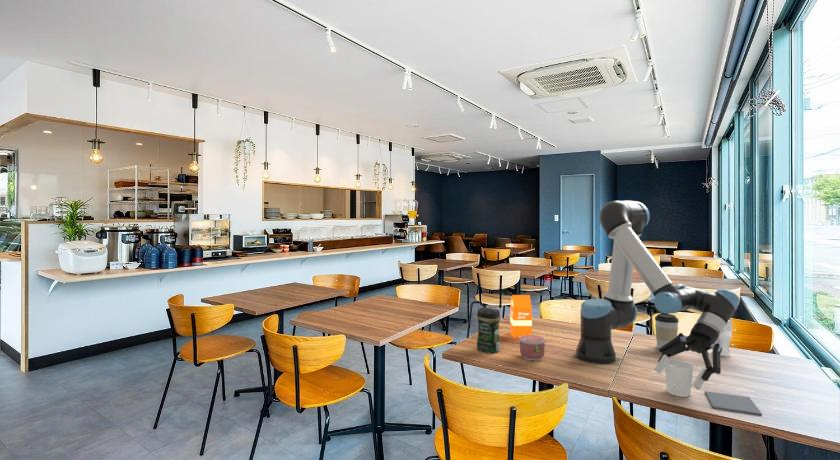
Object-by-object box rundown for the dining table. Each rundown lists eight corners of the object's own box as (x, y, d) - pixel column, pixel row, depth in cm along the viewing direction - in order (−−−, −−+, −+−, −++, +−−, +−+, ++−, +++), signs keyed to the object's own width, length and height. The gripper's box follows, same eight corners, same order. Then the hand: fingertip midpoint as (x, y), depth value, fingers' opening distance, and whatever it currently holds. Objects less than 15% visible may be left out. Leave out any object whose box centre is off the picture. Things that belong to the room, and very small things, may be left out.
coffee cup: (681, 352, 179) (682, 317, 179) (658, 351, 181) (659, 316, 181) (673, 345, 188) (674, 312, 188) (651, 344, 190) (651, 311, 189)
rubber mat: (713, 408, 129) (713, 406, 129) (704, 392, 140) (704, 390, 140) (761, 415, 124) (761, 413, 124) (749, 398, 135) (749, 397, 135)
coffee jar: (474, 350, 184) (474, 308, 184) (483, 345, 190) (483, 305, 190) (493, 355, 178) (493, 311, 177) (502, 350, 184) (502, 308, 183)
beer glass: (725, 358, 172) (726, 321, 171) (707, 353, 178) (708, 318, 178) (734, 355, 175) (735, 319, 175) (716, 350, 181) (717, 315, 181)
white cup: (659, 388, 144) (659, 359, 143) (681, 387, 144) (681, 358, 144) (675, 398, 136) (675, 368, 135) (698, 397, 136) (698, 367, 136)
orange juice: (531, 338, 201) (532, 296, 200) (513, 338, 201) (513, 296, 201) (528, 333, 209) (528, 293, 208) (510, 333, 209) (510, 293, 208)
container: (516, 359, 173) (516, 340, 172) (522, 352, 182) (522, 333, 182) (542, 363, 168) (542, 343, 167) (547, 355, 177) (547, 336, 177)
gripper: (752, 346, 133) (719, 401, 128) (678, 326, 156) (648, 372, 152) (742, 331, 131) (708, 387, 126) (668, 313, 154) (637, 360, 149)
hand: (675, 379), depth 139 cm, fingers open, 13 cm apart
